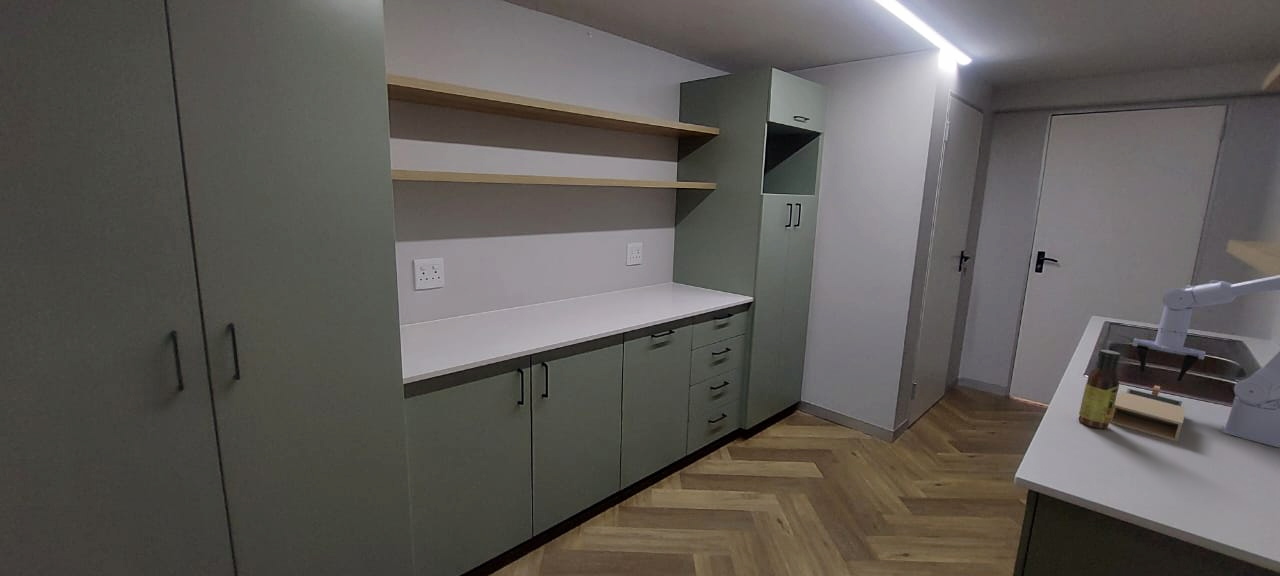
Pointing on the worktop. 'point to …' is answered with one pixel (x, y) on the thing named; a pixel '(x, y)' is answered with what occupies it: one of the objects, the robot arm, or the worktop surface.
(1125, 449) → the worktop surface
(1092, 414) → the sauce bottle
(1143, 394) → the tray
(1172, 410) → the sleeve
